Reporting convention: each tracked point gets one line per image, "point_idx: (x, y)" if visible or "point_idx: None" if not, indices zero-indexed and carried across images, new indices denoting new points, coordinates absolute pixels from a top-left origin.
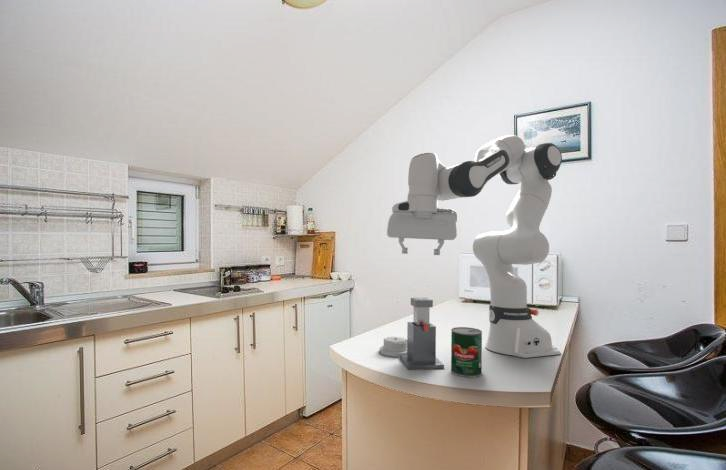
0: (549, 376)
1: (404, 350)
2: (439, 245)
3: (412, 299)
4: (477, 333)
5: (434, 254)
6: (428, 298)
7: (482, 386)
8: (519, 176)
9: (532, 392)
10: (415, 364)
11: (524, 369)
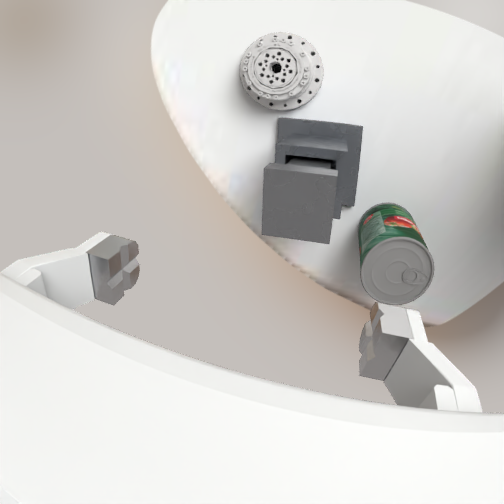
0: (498, 283)
1: (296, 97)
2: (412, 397)
3: (263, 194)
4: (401, 304)
5: (364, 326)
6: (332, 200)
7: None
8: None
9: (423, 324)
10: None
11: (493, 246)
